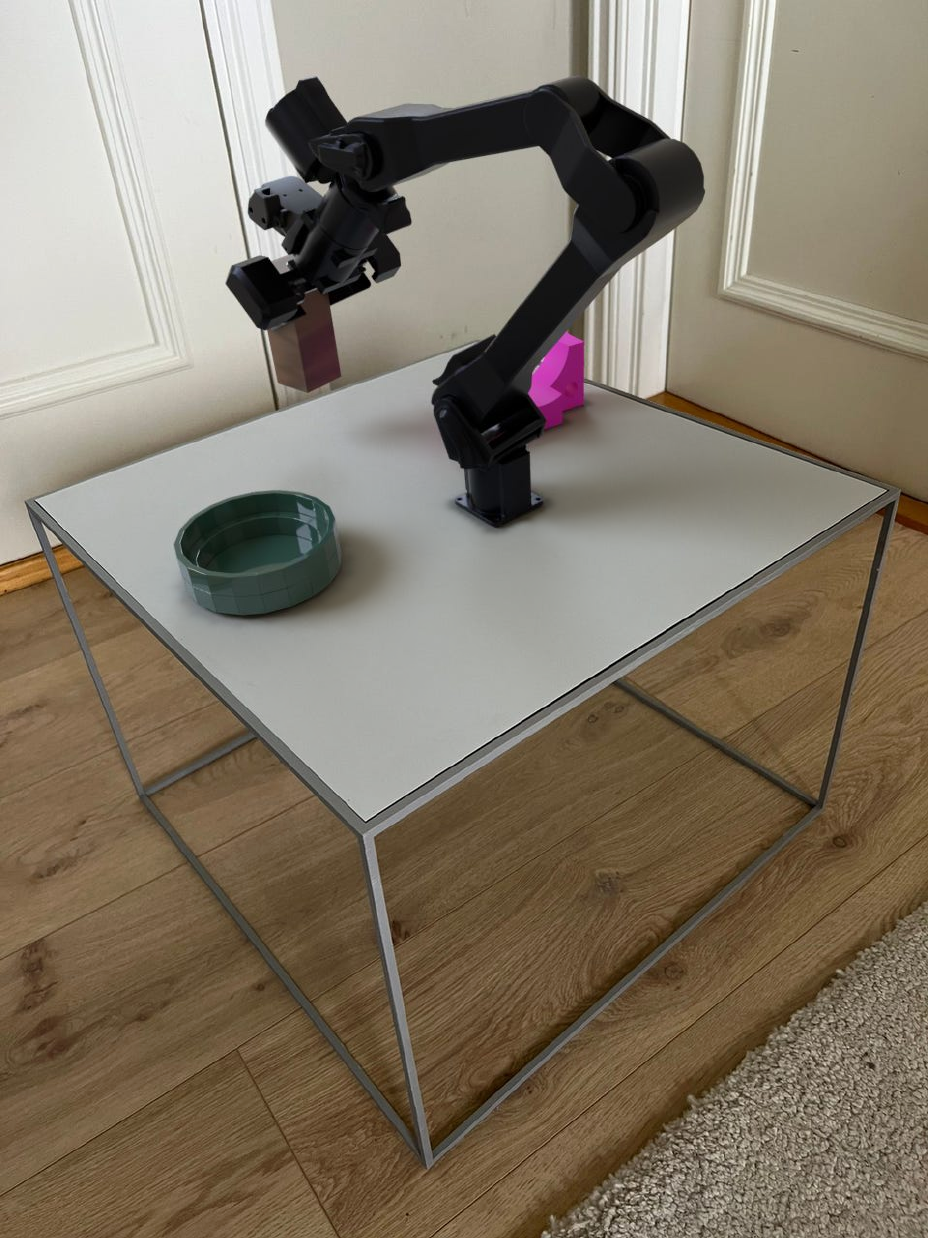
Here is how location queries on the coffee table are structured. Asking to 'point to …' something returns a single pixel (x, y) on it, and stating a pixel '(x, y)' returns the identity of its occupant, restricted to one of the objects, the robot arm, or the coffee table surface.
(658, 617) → the coffee table surface
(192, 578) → the teal shallow bowl
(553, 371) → the toy block
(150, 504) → the coffee table surface
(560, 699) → the coffee table surface
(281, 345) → the walnut block
